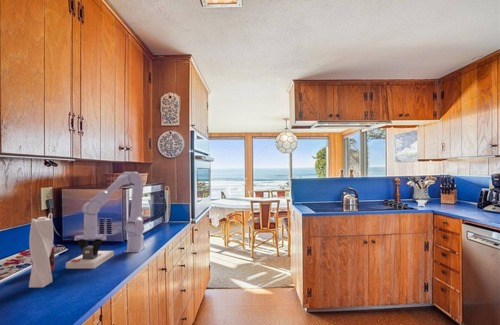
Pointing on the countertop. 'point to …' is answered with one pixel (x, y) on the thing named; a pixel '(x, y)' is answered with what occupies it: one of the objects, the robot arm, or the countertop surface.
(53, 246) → the canned food
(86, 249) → the plug
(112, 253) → the socket plate
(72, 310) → the countertop surface
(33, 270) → the skyscraper
